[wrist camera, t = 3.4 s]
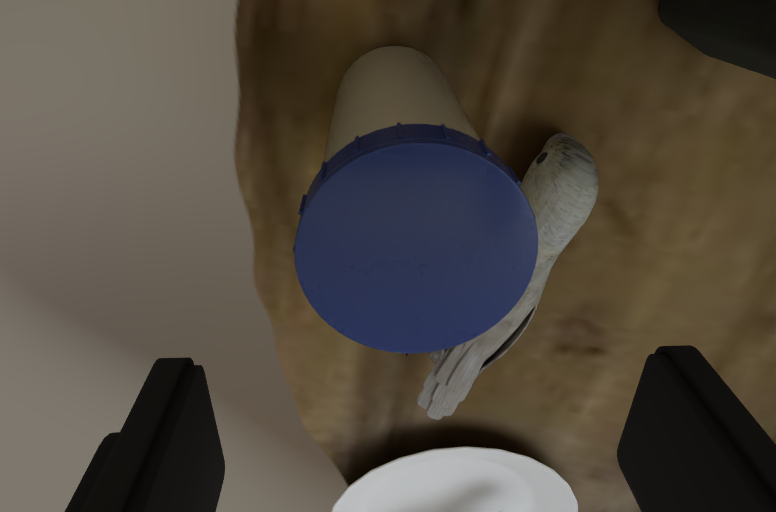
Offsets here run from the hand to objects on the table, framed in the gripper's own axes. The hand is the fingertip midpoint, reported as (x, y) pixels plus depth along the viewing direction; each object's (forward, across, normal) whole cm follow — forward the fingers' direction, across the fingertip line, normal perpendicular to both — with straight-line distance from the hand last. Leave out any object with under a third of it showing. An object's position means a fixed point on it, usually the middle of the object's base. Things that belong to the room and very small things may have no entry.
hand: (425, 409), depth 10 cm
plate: (+21, -6, +34) cm, 41 cm away
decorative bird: (+21, -6, +8) cm, 24 cm away
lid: (+6, 0, 0) cm, 6 cm away
